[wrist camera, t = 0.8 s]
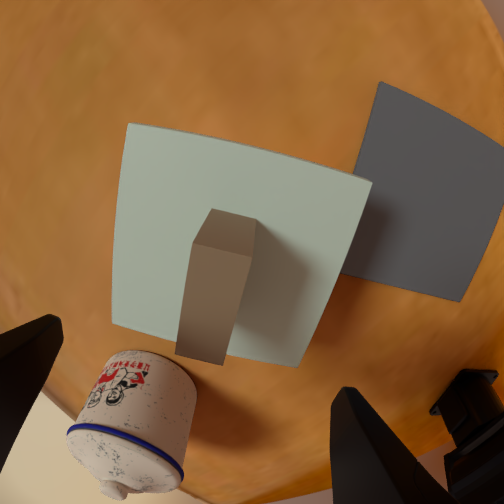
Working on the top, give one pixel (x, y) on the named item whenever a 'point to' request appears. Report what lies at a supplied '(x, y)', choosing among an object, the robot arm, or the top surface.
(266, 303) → the lid
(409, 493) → the robot arm
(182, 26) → the top surface
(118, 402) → the teacup with lid
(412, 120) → the mat
